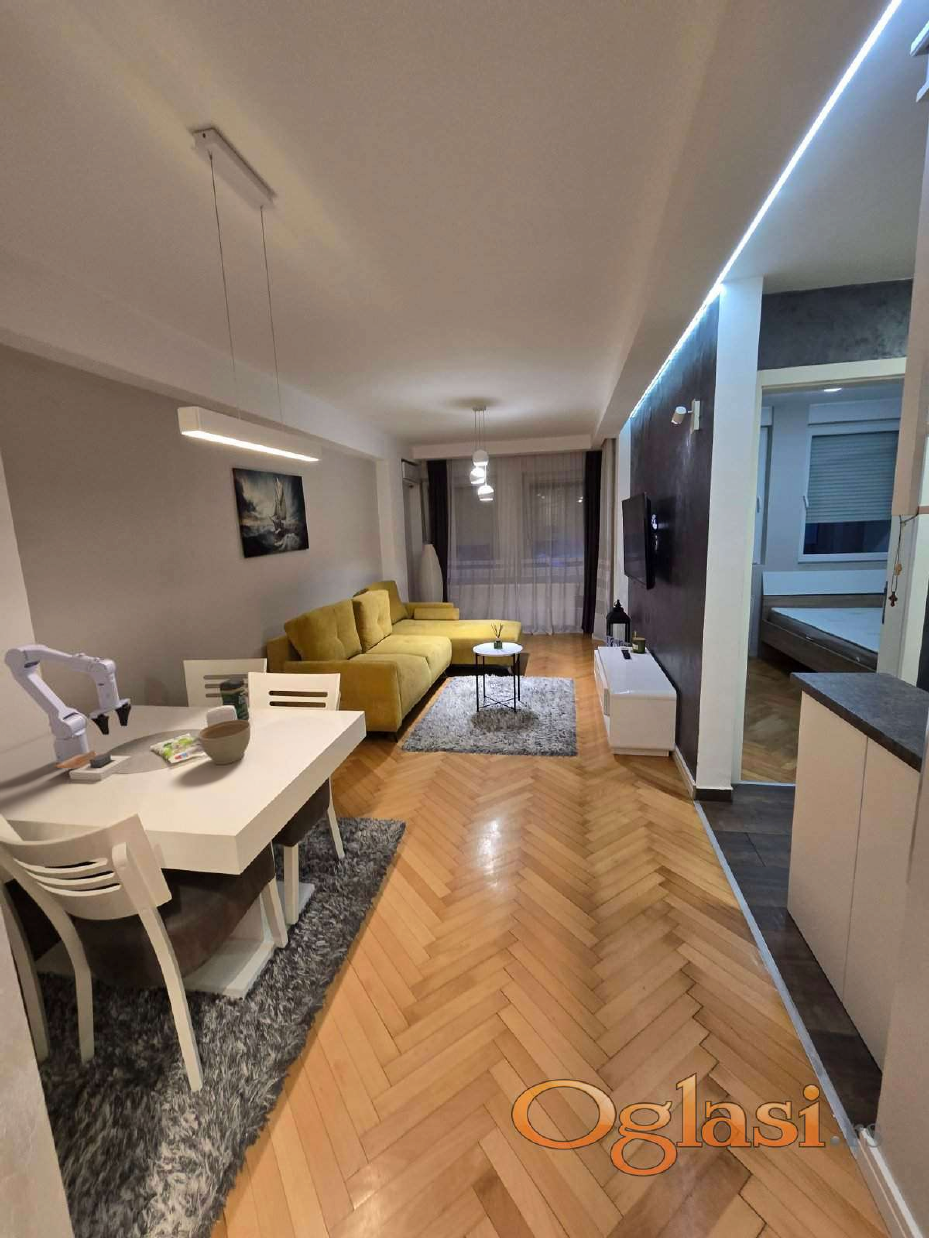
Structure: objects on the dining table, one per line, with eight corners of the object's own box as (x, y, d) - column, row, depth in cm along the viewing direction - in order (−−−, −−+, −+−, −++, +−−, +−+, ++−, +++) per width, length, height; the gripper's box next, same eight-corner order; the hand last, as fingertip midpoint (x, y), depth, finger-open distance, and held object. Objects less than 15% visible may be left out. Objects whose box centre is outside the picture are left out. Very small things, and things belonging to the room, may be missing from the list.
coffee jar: (239, 726, 200) (232, 682, 197) (221, 726, 201) (214, 682, 198) (253, 717, 210) (246, 675, 206) (236, 717, 211) (229, 675, 208)
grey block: (92, 773, 166) (89, 759, 166) (102, 768, 170) (100, 754, 169) (102, 774, 166) (99, 760, 165) (112, 768, 170) (109, 754, 169)
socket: (70, 779, 163) (69, 771, 163) (103, 762, 175) (101, 755, 175) (101, 780, 161) (100, 772, 161) (132, 762, 173) (131, 756, 172)
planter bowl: (195, 761, 171) (190, 731, 169) (242, 744, 182) (238, 716, 180) (213, 774, 160) (208, 742, 158) (262, 756, 171) (258, 726, 169)
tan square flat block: (57, 767, 166) (55, 759, 166) (79, 756, 174) (77, 749, 173) (77, 768, 165) (75, 760, 164) (98, 757, 172) (97, 749, 172)
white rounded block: (238, 732, 195) (233, 701, 192) (240, 735, 191) (235, 704, 189) (209, 739, 189) (204, 708, 187) (210, 743, 186) (205, 711, 183)
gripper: (99, 700, 169) (106, 738, 171) (134, 687, 183) (141, 722, 185) (81, 700, 170) (89, 738, 173) (118, 687, 184) (125, 722, 187)
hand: (115, 729), depth 179 cm, fingers open, 7 cm apart
